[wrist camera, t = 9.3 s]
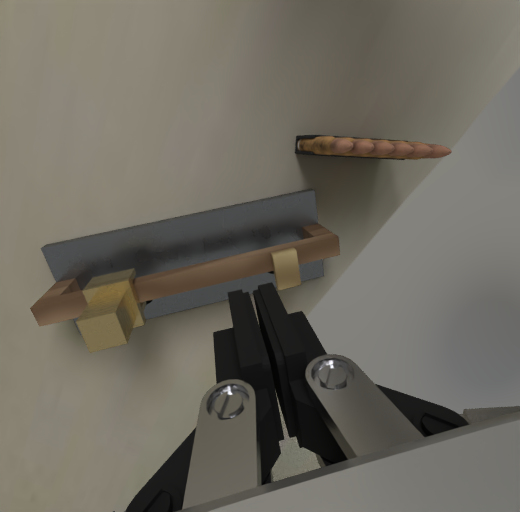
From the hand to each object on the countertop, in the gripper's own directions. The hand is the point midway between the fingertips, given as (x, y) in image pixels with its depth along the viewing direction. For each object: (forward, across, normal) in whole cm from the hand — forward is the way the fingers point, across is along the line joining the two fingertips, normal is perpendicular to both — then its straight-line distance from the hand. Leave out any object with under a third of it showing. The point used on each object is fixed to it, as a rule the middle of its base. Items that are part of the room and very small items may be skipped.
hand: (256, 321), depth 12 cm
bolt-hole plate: (+26, +4, +7) cm, 27 cm away
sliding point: (+24, +12, +7) cm, 28 cm away
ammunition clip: (+27, -15, -2) cm, 31 cm away
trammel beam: (+25, +4, +8) cm, 26 cm away
